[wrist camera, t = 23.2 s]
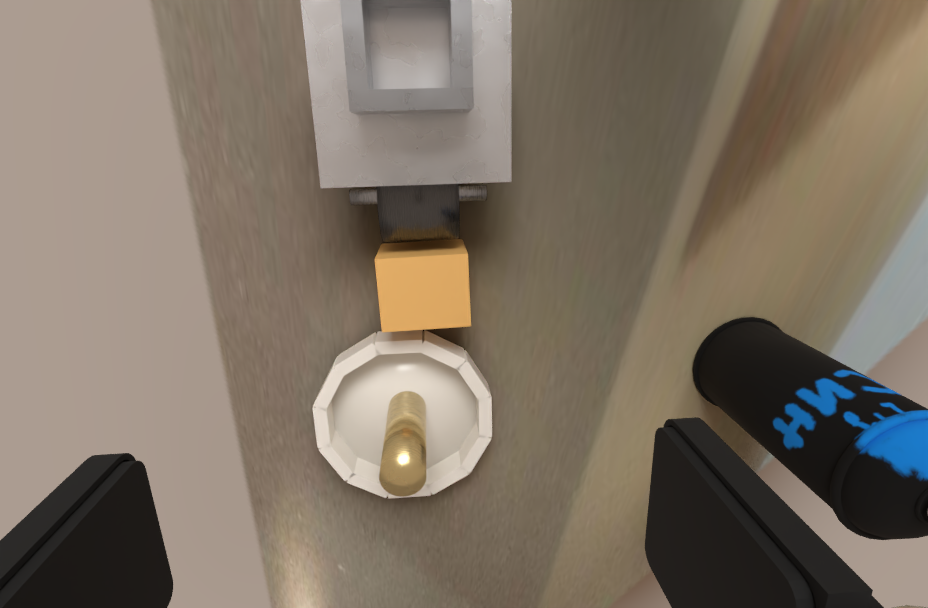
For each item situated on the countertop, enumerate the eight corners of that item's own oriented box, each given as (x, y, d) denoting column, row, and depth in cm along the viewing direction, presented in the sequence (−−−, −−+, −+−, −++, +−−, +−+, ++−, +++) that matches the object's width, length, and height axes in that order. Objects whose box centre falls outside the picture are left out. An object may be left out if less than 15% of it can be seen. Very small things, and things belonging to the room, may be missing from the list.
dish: (486, 322, 41) (490, 336, 38) (488, 469, 45) (492, 491, 42) (313, 331, 40) (304, 345, 37) (331, 479, 44) (324, 502, 41)
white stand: (493, -15, 34) (521, -81, 24) (495, 229, 39) (519, 259, 29) (322, -14, 33) (278, -80, 23) (346, 235, 38) (318, 268, 28)
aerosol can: (800, 377, 44) (1080, 554, 25) (712, 422, 45) (921, 627, 26) (769, 298, 42) (1054, 427, 23) (677, 347, 43) (879, 511, 24)
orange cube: (461, 238, 39) (467, 253, 34) (464, 302, 40) (471, 326, 35) (381, 243, 39) (374, 259, 33) (387, 307, 40) (381, 332, 35)
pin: (425, 390, 41) (425, 454, 33) (426, 423, 42) (427, 494, 34) (387, 392, 41) (377, 457, 33) (389, 425, 42) (380, 498, 34)
